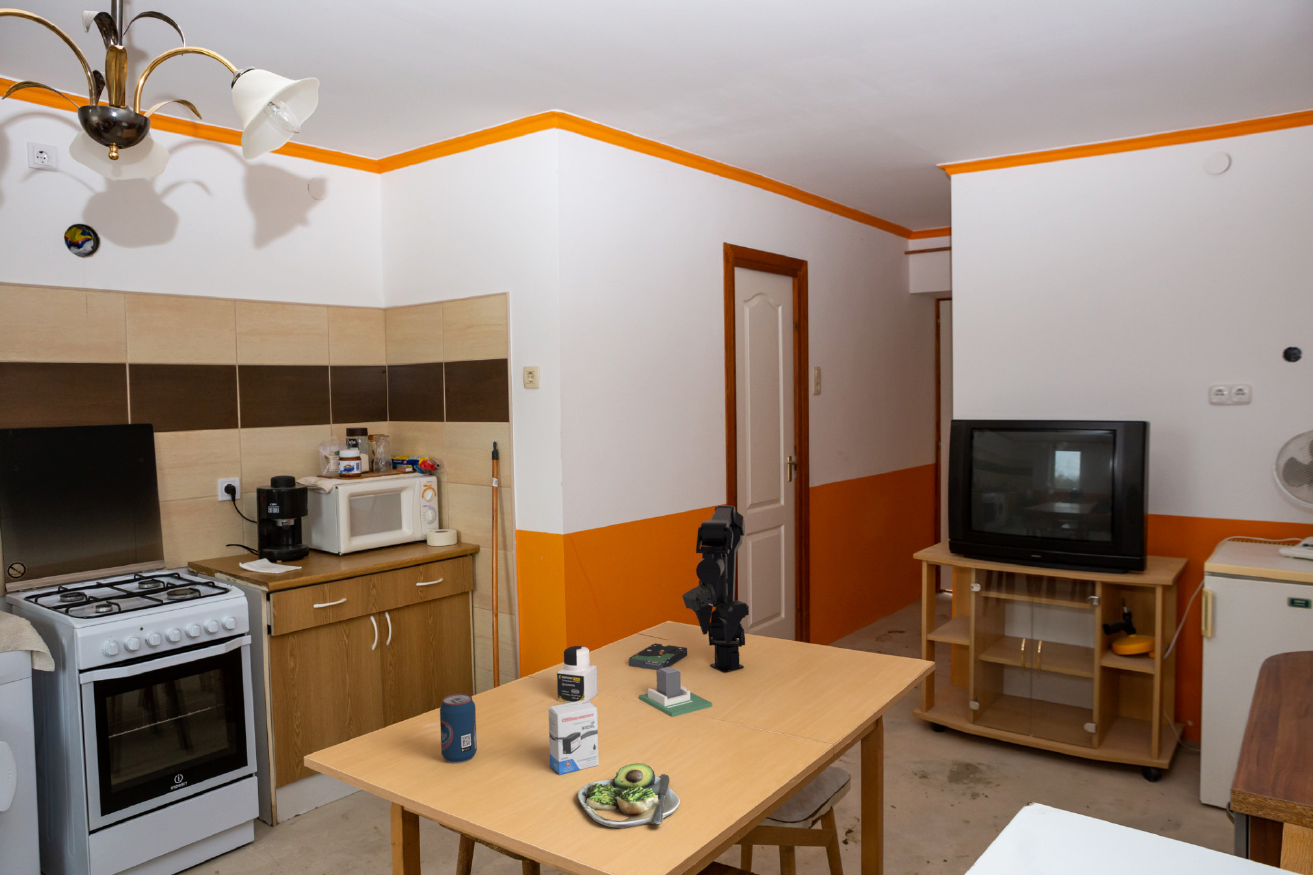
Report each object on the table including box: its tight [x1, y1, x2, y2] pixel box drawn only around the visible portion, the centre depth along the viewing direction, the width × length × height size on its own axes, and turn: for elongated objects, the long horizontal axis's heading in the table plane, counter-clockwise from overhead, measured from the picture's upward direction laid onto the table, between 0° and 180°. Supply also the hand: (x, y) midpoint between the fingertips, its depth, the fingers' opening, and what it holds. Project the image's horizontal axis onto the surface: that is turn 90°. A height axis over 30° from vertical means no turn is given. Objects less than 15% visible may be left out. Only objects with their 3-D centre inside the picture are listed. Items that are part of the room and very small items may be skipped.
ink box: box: [548, 700, 600, 776], centre depth 170 cm, size 8×5×12 cm, turn 117°
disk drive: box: [628, 642, 688, 671], centre depth 235 cm, size 10×3×15 cm
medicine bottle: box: [556, 645, 598, 703], centre depth 208 cm, size 7×7×12 cm
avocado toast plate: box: [577, 762, 681, 829], centre depth 153 cm, size 19×18×5 cm
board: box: [638, 685, 713, 718], centre depth 204 cm, size 14×11×3 cm
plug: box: [655, 666, 682, 699], centre depth 204 cm, size 4×4×7 cm
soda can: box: [439, 693, 478, 764], centre depth 175 cm, size 7×7×12 cm
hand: (716, 638), depth 211 cm, fingers open, 9 cm apart
